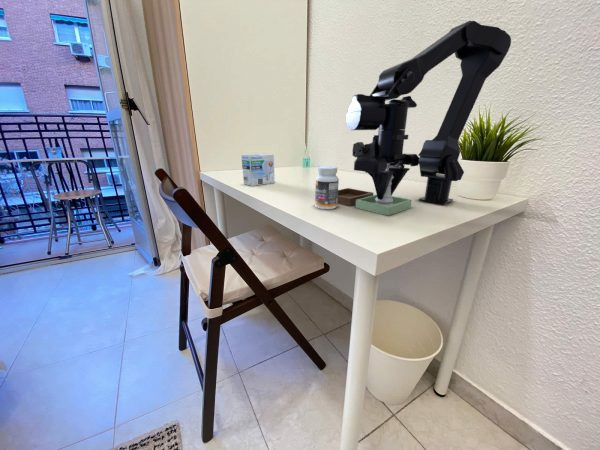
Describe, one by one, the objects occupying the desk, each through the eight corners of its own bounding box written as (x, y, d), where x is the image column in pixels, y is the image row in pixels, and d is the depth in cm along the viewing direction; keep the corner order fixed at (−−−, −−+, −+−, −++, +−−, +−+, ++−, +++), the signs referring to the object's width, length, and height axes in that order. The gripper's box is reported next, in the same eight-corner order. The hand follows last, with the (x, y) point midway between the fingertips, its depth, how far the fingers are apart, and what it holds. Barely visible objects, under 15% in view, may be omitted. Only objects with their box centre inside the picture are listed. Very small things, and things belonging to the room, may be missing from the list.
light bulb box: (252, 186, 89) (250, 155, 86) (242, 184, 94) (240, 155, 90) (275, 182, 96) (274, 154, 92) (265, 180, 101) (264, 153, 97)
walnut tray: (347, 194, 75) (347, 187, 75) (373, 199, 69) (373, 192, 68) (324, 199, 69) (324, 192, 69) (349, 206, 63) (350, 198, 62)
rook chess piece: (378, 202, 64) (381, 171, 61) (395, 205, 61) (399, 172, 58) (371, 206, 61) (374, 173, 58) (389, 208, 58) (392, 175, 55)
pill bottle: (310, 206, 63) (310, 167, 59) (326, 202, 66) (327, 165, 63) (326, 211, 58) (327, 169, 55) (342, 206, 62) (344, 167, 59)
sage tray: (378, 200, 67) (379, 193, 67) (410, 207, 61) (412, 199, 60) (355, 207, 61) (355, 199, 61) (388, 215, 55) (389, 207, 54)
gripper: (383, 131, 66) (377, 188, 72) (336, 131, 55) (334, 198, 60) (424, 130, 58) (414, 194, 64) (380, 129, 47) (372, 207, 52)
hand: (384, 197), depth 60 cm, fingers closed on rook chess piece, 3 cm apart
